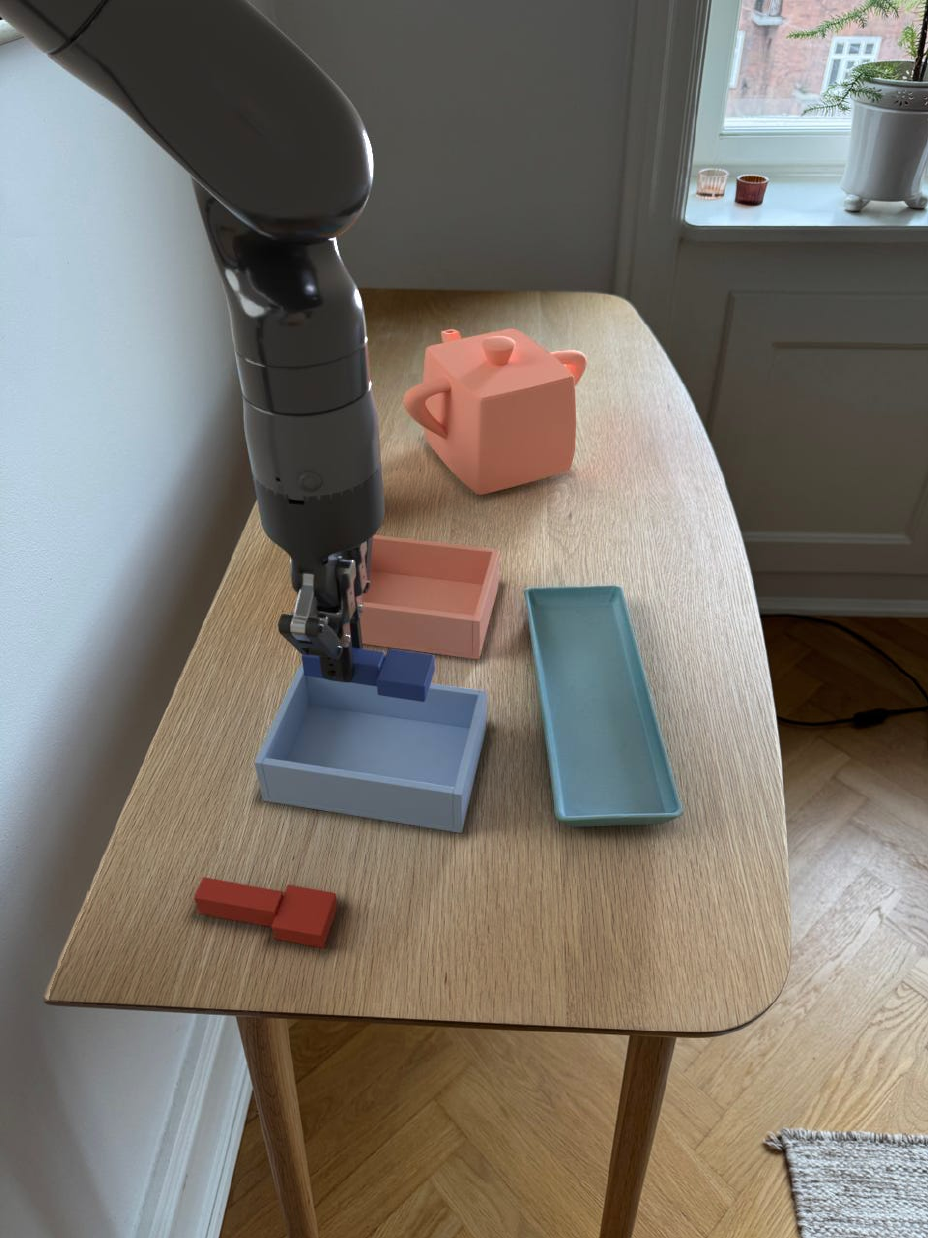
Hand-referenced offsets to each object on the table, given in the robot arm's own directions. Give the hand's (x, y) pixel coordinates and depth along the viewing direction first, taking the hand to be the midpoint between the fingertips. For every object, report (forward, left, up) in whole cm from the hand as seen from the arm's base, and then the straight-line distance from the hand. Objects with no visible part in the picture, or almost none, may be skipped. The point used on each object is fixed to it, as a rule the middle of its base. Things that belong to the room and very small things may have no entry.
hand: (343, 666), depth 65 cm
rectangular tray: (+18, +9, -10) cm, 22 cm away
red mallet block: (-2, -14, -10) cm, 17 cm away
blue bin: (+2, 0, -10) cm, 10 cm away
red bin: (0, +18, -10) cm, 21 cm away
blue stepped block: (+2, 0, -1) cm, 2 cm away
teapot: (+2, +48, -10) cm, 49 cm away
